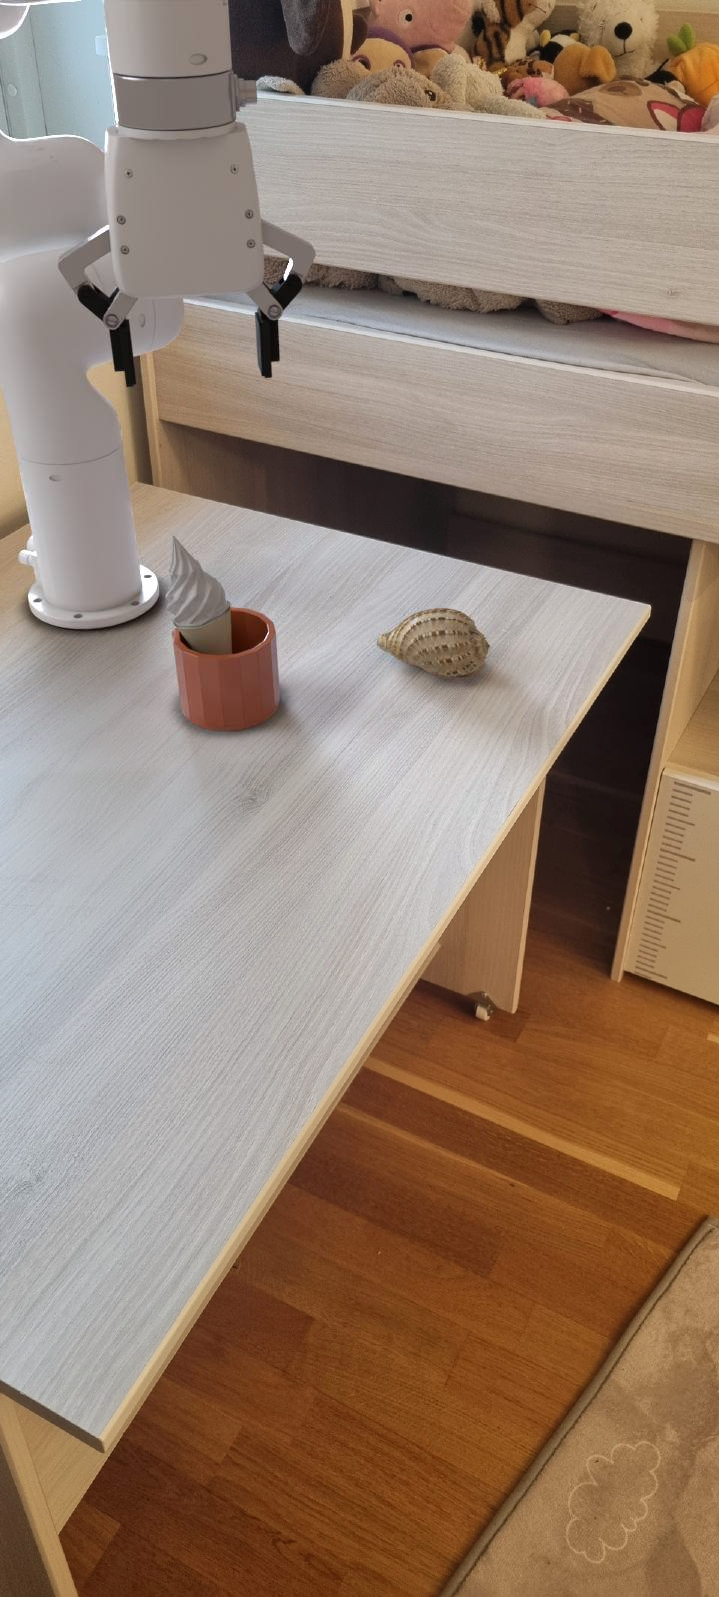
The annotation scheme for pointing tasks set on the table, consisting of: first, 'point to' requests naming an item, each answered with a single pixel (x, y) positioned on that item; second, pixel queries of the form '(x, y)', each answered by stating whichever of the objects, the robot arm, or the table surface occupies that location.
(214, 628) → the ice cream cone
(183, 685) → the cone holder
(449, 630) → the seashell
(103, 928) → the table surface
